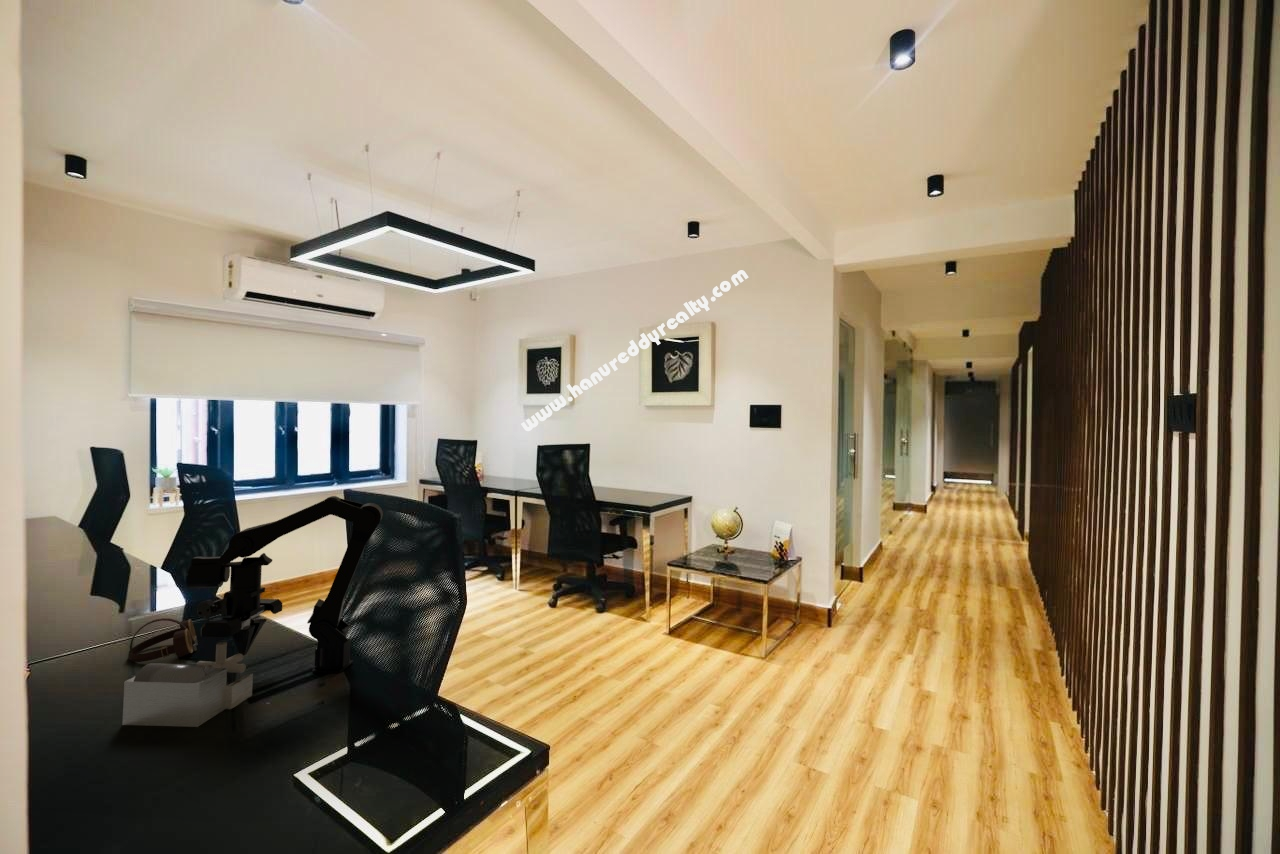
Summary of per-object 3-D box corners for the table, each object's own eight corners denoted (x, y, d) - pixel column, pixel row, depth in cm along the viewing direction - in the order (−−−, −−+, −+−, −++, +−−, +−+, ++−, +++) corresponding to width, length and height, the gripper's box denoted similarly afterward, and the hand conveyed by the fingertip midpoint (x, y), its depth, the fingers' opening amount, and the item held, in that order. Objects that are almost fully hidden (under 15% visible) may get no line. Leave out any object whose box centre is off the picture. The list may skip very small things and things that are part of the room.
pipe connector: (259, 682, 124) (261, 636, 124) (222, 703, 114) (224, 653, 114) (217, 678, 125) (219, 633, 125) (176, 699, 115) (178, 650, 115)
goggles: (196, 657, 136) (186, 618, 135) (125, 680, 129) (114, 639, 128) (201, 638, 149) (192, 602, 148) (137, 658, 142) (127, 621, 141)
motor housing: (252, 695, 118) (254, 647, 118) (204, 726, 105) (206, 672, 105) (172, 693, 118) (174, 645, 118) (114, 724, 105) (117, 670, 105)
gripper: (238, 574, 136) (235, 639, 135) (176, 596, 117) (172, 671, 117) (284, 575, 136) (282, 640, 136) (230, 597, 117) (227, 672, 117)
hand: (242, 655), depth 126 cm, fingers closed
